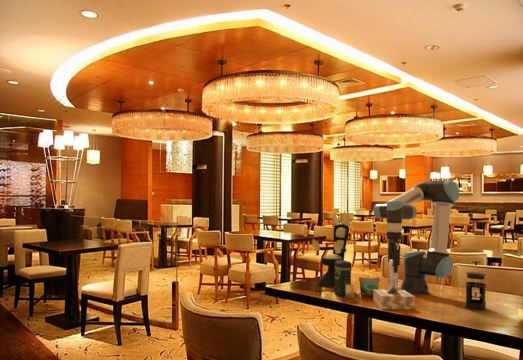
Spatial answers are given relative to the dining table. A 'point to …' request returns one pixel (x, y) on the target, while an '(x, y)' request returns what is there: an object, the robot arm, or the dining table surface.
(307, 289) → the dining table surface
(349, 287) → the brass pin
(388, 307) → the tissue box
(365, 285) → the food container
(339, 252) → the dark tall irregular piece
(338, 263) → the coffee jar
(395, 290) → the steel pin
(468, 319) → the dining table surface
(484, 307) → the french press
